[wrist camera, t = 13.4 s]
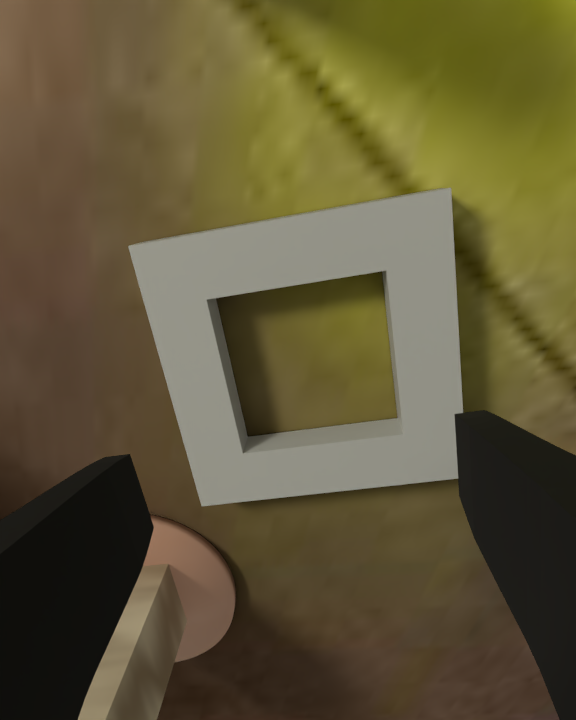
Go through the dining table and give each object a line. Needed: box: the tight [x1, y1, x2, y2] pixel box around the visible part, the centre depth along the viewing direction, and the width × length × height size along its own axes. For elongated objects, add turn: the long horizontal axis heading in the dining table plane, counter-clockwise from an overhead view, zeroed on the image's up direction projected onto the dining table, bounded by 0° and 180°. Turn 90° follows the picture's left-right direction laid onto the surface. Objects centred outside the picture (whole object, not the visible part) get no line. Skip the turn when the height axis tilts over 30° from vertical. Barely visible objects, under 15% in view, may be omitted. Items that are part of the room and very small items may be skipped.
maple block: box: [78, 564, 187, 720], centre depth 21 cm, size 4×4×8 cm
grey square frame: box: [128, 188, 463, 506], centre depth 20 cm, size 12×12×2 cm
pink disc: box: [143, 515, 236, 662], centre depth 25 cm, size 10×10×1 cm
